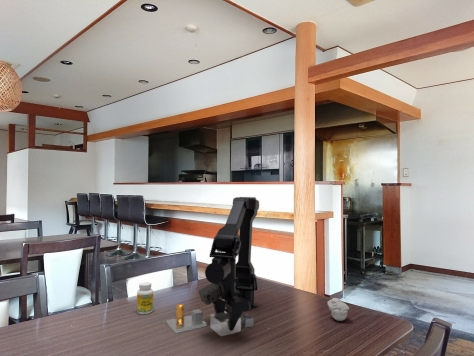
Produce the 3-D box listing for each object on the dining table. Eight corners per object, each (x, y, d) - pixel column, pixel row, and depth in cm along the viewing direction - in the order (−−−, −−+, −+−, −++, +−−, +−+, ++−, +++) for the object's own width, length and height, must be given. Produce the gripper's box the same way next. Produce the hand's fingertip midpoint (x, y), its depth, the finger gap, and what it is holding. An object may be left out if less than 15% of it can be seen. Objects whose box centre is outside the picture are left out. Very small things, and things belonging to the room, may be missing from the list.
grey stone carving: (327, 315, 115) (328, 294, 115) (349, 318, 113) (349, 297, 113) (326, 321, 110) (326, 300, 110) (349, 325, 107) (349, 303, 107)
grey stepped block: (246, 321, 109) (246, 311, 109) (253, 325, 106) (253, 315, 106) (232, 324, 106) (232, 314, 106) (238, 329, 103) (238, 319, 103)
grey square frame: (229, 323, 107) (229, 310, 107) (240, 331, 101) (240, 318, 101) (210, 327, 104) (210, 314, 104) (220, 336, 98) (221, 322, 98)
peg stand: (195, 317, 112) (195, 297, 112) (206, 326, 105) (206, 305, 105) (166, 323, 106) (166, 302, 106) (175, 333, 99) (176, 311, 100)
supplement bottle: (149, 307, 119) (150, 280, 120) (155, 312, 115) (155, 284, 115) (134, 310, 117) (135, 282, 117) (139, 315, 112) (140, 286, 112)
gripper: (189, 270, 107) (188, 320, 106) (217, 286, 91) (216, 345, 90) (220, 266, 112) (219, 313, 112) (251, 281, 97) (250, 335, 96)
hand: (225, 326), depth 103 cm, fingers closed on grey square frame, 7 cm apart
